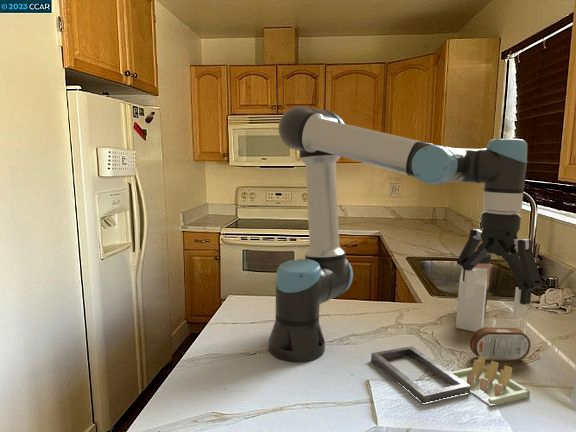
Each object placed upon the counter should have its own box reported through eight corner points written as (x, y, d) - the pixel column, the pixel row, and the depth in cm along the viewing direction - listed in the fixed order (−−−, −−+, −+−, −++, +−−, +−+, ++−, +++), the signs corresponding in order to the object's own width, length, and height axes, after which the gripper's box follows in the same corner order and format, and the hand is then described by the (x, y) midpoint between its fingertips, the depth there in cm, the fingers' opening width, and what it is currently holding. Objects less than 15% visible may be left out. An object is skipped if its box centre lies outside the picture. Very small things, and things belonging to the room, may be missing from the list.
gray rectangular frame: (423, 405, 83) (423, 396, 83) (371, 360, 102) (371, 353, 101) (469, 394, 88) (470, 385, 87) (411, 353, 106) (412, 346, 106)
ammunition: (479, 353, 95) (466, 364, 90) (513, 365, 90) (501, 378, 85) (477, 372, 96) (464, 384, 91) (511, 385, 91) (499, 399, 85)
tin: (523, 356, 106) (526, 326, 104) (531, 362, 102) (534, 331, 101) (467, 356, 105) (470, 326, 104) (473, 362, 102) (476, 331, 101)
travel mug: (464, 312, 136) (469, 255, 134) (460, 305, 144) (464, 251, 141) (488, 315, 135) (494, 257, 132) (483, 307, 142) (488, 252, 139)
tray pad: (491, 406, 83) (491, 400, 83) (449, 377, 94) (449, 371, 94) (529, 396, 87) (529, 390, 87) (484, 370, 98) (485, 364, 98)
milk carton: (459, 320, 129) (463, 263, 127) (483, 325, 126) (488, 267, 123) (455, 328, 123) (460, 268, 121) (481, 333, 120) (486, 272, 117)
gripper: (571, 219, 76) (558, 326, 78) (470, 205, 99) (462, 288, 102) (543, 220, 73) (530, 331, 76) (445, 205, 96) (439, 290, 99)
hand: (491, 306), depth 89 cm, fingers open, 13 cm apart
